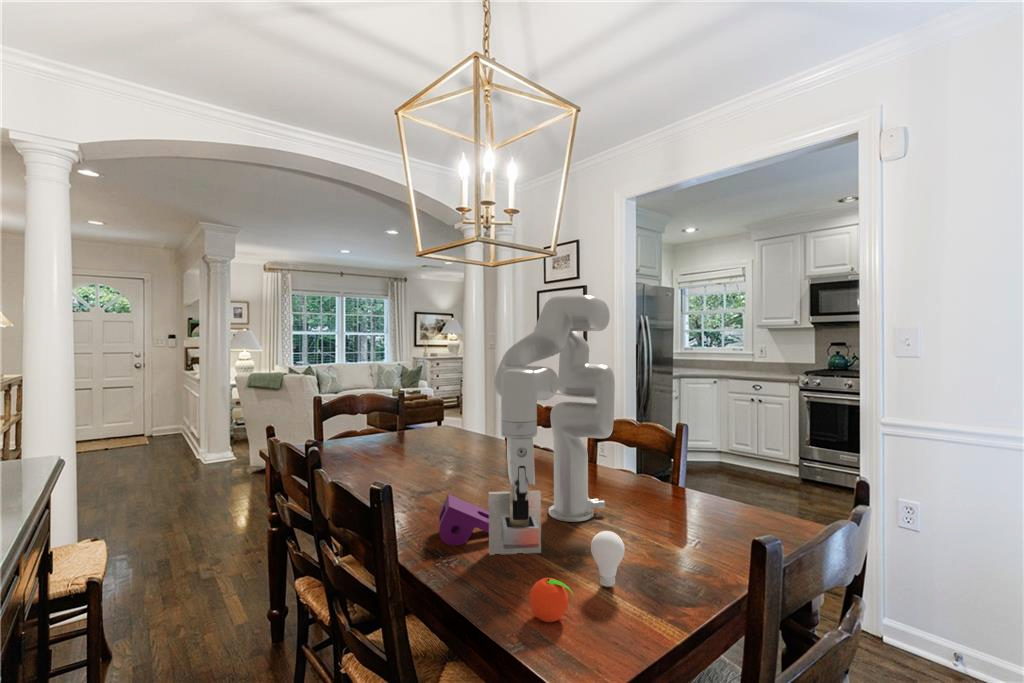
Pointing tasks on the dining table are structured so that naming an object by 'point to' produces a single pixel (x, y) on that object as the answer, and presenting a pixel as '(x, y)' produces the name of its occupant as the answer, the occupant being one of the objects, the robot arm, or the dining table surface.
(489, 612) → the dining table surface
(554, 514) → the robot arm
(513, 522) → the maple peg
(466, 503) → the mounting bracket
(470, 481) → the dining table surface
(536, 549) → the cup bracket
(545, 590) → the clementine
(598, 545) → the light bulb
